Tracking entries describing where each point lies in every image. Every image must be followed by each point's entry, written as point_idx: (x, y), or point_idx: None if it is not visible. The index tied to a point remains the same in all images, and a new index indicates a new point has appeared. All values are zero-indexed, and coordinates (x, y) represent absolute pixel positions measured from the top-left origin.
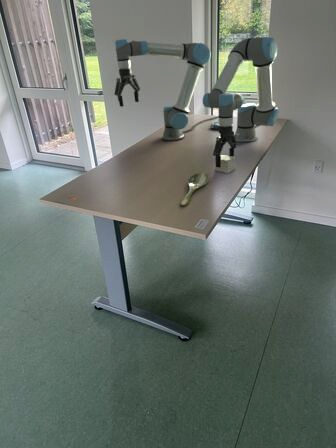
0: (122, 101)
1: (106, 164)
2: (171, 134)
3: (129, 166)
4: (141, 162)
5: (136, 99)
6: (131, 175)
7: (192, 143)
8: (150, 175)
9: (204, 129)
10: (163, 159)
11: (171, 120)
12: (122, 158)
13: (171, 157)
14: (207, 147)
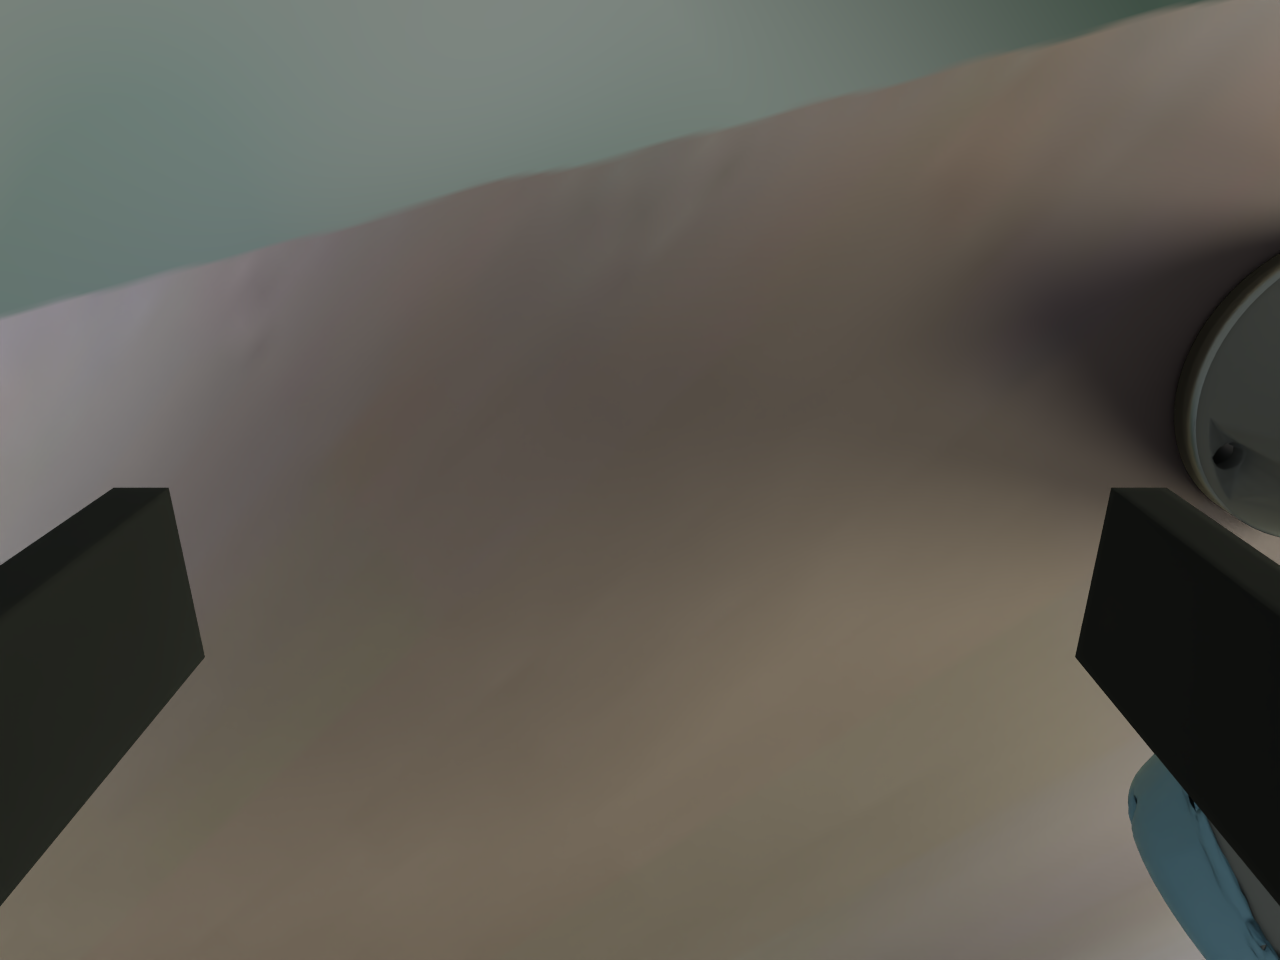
0: (61, 802)
1: (40, 327)
2: (1267, 470)
3: (210, 615)
4: (373, 643)
5: (1146, 648)
6: None
7: None
8: (218, 907)
9: None
10: (576, 772)
11: (1183, 847)
12: (309, 349)
13: (665, 801)
14: (1082, 914)
